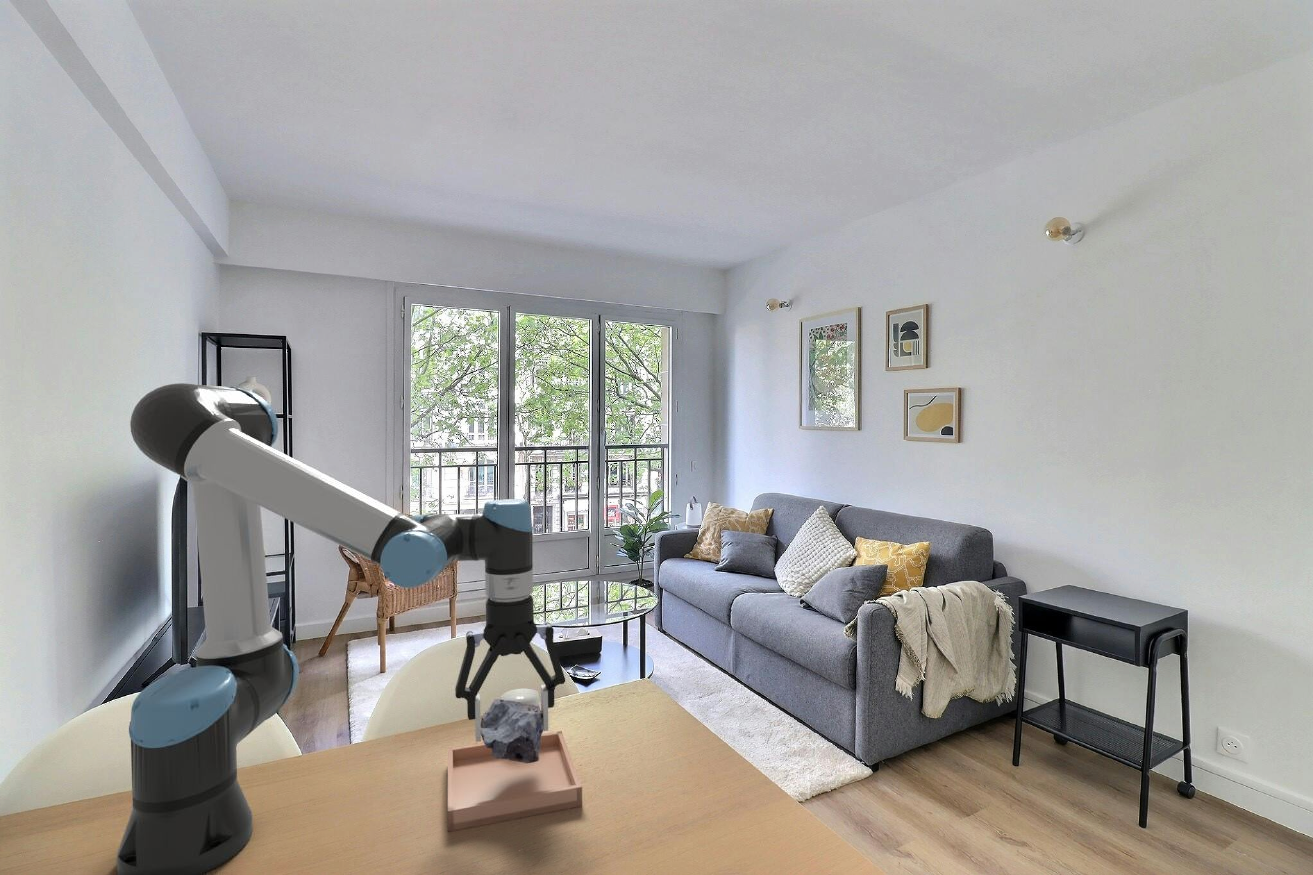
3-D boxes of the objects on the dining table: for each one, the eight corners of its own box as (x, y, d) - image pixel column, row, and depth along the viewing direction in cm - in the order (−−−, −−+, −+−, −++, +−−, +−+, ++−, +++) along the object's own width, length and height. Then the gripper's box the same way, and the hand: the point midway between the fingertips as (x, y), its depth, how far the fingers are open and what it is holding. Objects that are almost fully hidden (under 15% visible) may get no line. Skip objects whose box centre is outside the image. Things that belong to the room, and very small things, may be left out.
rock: (550, 761, 97) (552, 691, 101) (481, 765, 94) (486, 692, 98) (536, 763, 109) (538, 699, 113) (474, 766, 106) (479, 701, 110)
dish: (448, 831, 92) (447, 811, 92) (447, 765, 110) (447, 748, 110) (582, 805, 98) (582, 786, 98) (561, 747, 116) (561, 731, 116)
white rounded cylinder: (502, 750, 115) (502, 706, 115) (499, 732, 122) (499, 691, 121) (541, 744, 117) (541, 701, 117) (536, 727, 124) (536, 686, 124)
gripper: (435, 609, 96) (438, 755, 97) (583, 595, 103) (585, 731, 104) (436, 596, 103) (439, 732, 104) (574, 584, 110) (576, 711, 111)
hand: (511, 732), depth 104 cm, fingers closed on rock, 10 cm apart
